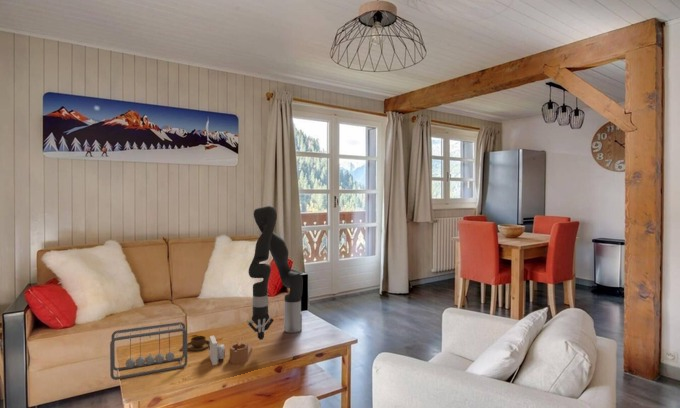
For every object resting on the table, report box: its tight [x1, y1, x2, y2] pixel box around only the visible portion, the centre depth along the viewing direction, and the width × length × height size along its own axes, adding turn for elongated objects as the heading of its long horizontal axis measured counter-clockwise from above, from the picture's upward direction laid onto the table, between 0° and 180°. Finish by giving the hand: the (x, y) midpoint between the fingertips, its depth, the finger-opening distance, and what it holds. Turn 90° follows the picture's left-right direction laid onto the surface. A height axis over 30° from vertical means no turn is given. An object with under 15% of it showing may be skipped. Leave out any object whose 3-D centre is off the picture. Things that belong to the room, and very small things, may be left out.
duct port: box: [209, 335, 226, 366], centre depth 186 cm, size 6×10×10 cm, turn 26°
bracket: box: [229, 342, 253, 365], centre depth 190 cm, size 18×8×7 cm, turn 1°
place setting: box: [179, 335, 210, 352], centre depth 197 cm, size 18×20×6 cm
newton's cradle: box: [109, 321, 188, 381], centre depth 175 cm, size 30×10×18 cm, turn 117°
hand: (260, 339), depth 194 cm, fingers closed
